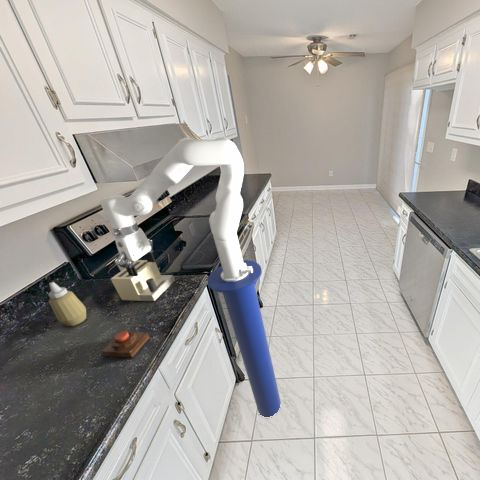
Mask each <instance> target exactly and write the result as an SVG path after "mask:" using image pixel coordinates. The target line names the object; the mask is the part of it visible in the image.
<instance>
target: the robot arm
mask: <svg viewBox="0 0 480 480" xmlns="http://www.w3.org/2000/svg"><path fill="white" fill-rule="evenodd" d="M194 166H195V167H196V166H197V167H198V166H199V167H203V166H205V167H206V166H207V167H208V166H220V167H221V170H220V175H219V180H218V184H217V189H216V193H215V202H216V207H215V210H214V211H212V212H211V214H210V216H209V218H208V224H209V228H210V231H211V234H212V236H213V240H214V244H215V248H216V251H217V254H218V258H219V262H220V266H222V269H223V272H222V273H221V278H222V280H223V281H226V282H235V281H238V280H241V279H243V278H244V277H246V276H247V275H248V273H253V269H252V266H246V263H243V260H244V259H243V255H242V251H241V246H240V242H239V238H238V234H237V232H238V229H239V225H240V222H241V217H242V213H243V210H244V209H243V208H244V200H243V197H242V194H241V189H242V187H243V186H242V185H243V181H244V175H245V164H244V159H243V156H242V154H241V152H240V151H239V149H238V147H237V145H236V144H235V143H234V142H233V141H232V140H230V139H229V138H227V137H224V136H220V137H217V138H215V139H194V138H192V137H183V138H181V139H180V140H178V141H177V143H176V144H175V145H174V146H173V147H172V148H171V149H170V151H168V153H166V154H165V156H164V157H162V159H160V161H159V162H158V163H156V165H155V167H154V168H153V169H152V171H151V172H150V173H149V175H148V176H147V177H146V178H145V179H144V180H143V181H142V182H141V183H140V184H139V185H138V186H137V188H136V189H134V191H133V192H132V193H131V194H130V195H129V196H125V195H122V194H114V195H108V196H106V197H103V198H101V199H100V206H101V208H102V210H103V213H104V215H105V217H106V220H107V221H108V223H109V226H110V227H111V230H112V233H111V234H112V236H114V241H115V245H116V248H117V251H118V254H119V255H118V257H117V258H116V259H117V261H116V260H115V261H116V263H115V264H116V265H117V264H118V265H119V266H120V267H123V268H126V269H127V272H128V274H129V275H130V276H137V275H138V273H137V271H136V269H135V267H134V266H133V262H134V261H136V260H140V259H141V258H142V257H143V256H144V257H145V260H147V262H156V259H155V257H154V254H153V253H154V250H153V248H154V245H153V244H154V243H153V241H154V240H153V239H148V237H147V235H146V234H145V232H144V231H143V229H142V228H141V227H140V226H139V225H138V223H137V220H136V218H135V216H137V217H139V216H140V217H141V216H146V215H148V214H150V213H152V211H153V208H154V205H155V203H157V201H158V200H159V198H160V197H162V195H163V194H164V193H165V192H166V191H167V190H168V189H170V188H171V187H172V186H173V187H174V186H175V185H177V184H179V183H180V182H181V180H182V179H183V178H184V177H185V176H186V175H187V174H188V173H189V172H190V171H191V169H192V168H193V167H194ZM123 261H124V262H123ZM128 261H130V262H129V264H128Z"/></svg>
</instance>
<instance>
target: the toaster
mask: <svg viewBox="0 0 480 480" xmlns="http://www.w3.org/2000/svg"><path fill="white" fill-rule="evenodd" d="M133 266H134V267H135V269H136V271H137V273H138V275H137V276H130V275H129V274H128V272H127V269H126V268H125V269H123V270H122V271H120V272H118V273H116V274H114V276H113V277H110V281H111V282H112V284H113V287H114V288H115V290H116V292H117V293H118V296H119V297H120V299H121V301H136V302H137V301H139V302H141V301H143V302H155V301H156V300H157V299H158V298H159V297H160V296H161V295H162V294H164V292H165V291H167V289H168V288H170V286H171V285H172V284H174V282H175V281H176V279H175V277H174V275H173V274H161V272H160V270H159V267H158V265H157V263H156V261H155V262H147V260H146V259H138V260H136V261H135V262H133ZM151 278H152V279H153V280H154V282H155V285H156V287H157V290H156V291H154V292H150V290H149V288H148V285H147V283H146V280H148V279H151Z"/></svg>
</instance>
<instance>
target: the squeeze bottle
mask: <svg viewBox="0 0 480 480" xmlns="http://www.w3.org/2000/svg"><path fill="white" fill-rule="evenodd" d="M48 285H49V289H50V291H49V292H48V294H47V295H48V297H49V300H48V303H49V305H50V307H51V309H52V311H53V314H54V315H55V317H56V319H57V321H58V322H60V323H61V324H63V325H65V326H66V327H74V326H78V325H79V324H81V323H83V322H85V320H86V319H87V307H86V305H84V304H83V302H82V301H81V300H80V299H79V298H78V297H77V296H76V294H74V292H73V291H71V290H67V288H66V287H65V286H59V285H58V284H57V283H55V282H54V281H50V282H49V283H48Z"/></svg>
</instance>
